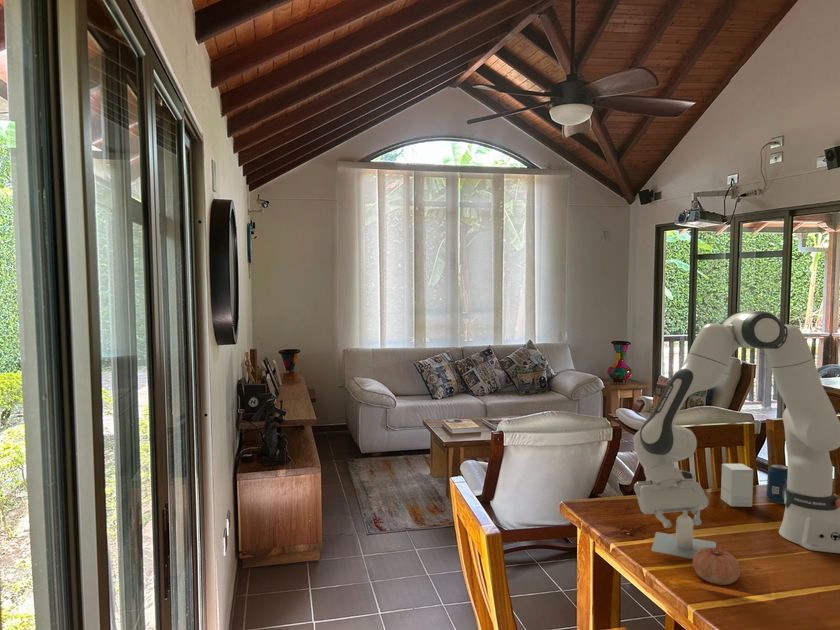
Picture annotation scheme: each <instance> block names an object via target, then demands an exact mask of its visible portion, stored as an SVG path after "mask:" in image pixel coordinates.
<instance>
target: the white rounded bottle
mask: <svg viewBox="0 0 840 630" xmlns="http://www.w3.org/2000/svg"><path fill="white" fill-rule="evenodd" d="M688 512H689V511H682V514H680V515H678V516H677V518H676V520H675V521H676V522H675V535H676V547H678V548H680V549H683V550H691V549H693V538H694V524H693V520H692V519H693V518H692V517H691V516H689V515H688Z"/></svg>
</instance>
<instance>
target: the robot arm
mask: <svg viewBox="0 0 840 630" xmlns="http://www.w3.org/2000/svg"><path fill="white" fill-rule="evenodd" d="M697 333H698V334H697V335H696V336H695V339H694V341H693V342H692V345H691V346H690V349H689V351H688V354H687V356H686V359H685V360H684V362H683V364H682V365H681V367H680V368H679V369H678V370H677V371H675V373H674V374H673V375H672V377H671V378H670V380H669V381H668V382H667V383H668V384H667V385H666V387H665V389H664V391H663V393H662V395H661V396H660V398H659V400H658V402H657V404H656V406H655V408H654V409H653V412H652V413H651V415H650V416H649V417H648V418H647V419H645V422H643V424H642V425H641V427H640V429H639V430H638V431H637V432H636V433H635V434H634V436H633V448H634V450H635V453H636V456H637V459H638V461H639V463H640V465H641V466H642V468H643V473H644V476H645V479H646V480H645V481H636V483H635V484H633V490H634V493H635V495H636V498H637V503H638V505H639V508H640V511H641V512H642V513H643V514H644V515H652V514H653V515H654V516H655V518H656V519H657V520H658V521H659V522H660V523H662V526H663V527H664V529H669V528H671V527H672V522H671V519H667V518H666V517H665V515H663V514H667V513H678V512H683V511H688V512H689V511H690V512H691V513H692V515H693V516H694V517H693V518H691V519H692V520H693V526H700V525H702V524H703V523H702V520H701V517H700V516H701V511H702V510H703V511H704V509H705V508H707V507H708V505H709V499H708V497H707V494H706V492H705V491H704V489H703V487H702V486H701V484H700V483H699V482H697V481H696V479H697V476H696V475H695V473H694V472H691V471H688V470H687V471H686V470H683V469H680V468H676V466H675V463H677V462H681V461H684V460H686V459H689V458H690V457H693V455H695V452H696V451H697V448H698V440H697V436H696V434H695V432H694V431H693V430H691V429H689V428H688V427H684V426H682V425H678V424H675V420H676V419H677V417H678V415H679V413H680V411H681V410H682V407H683V405H684V403H685V401H686V400H687V399H688V398H689V397H690V396H691V395H693V394H694V393H697V392H700V391H707V390H711V389H713V388H715V387H717V386H719V384H720V383H721V381H722V380H723V378H724V376H725V374H726V371H727V369H728V366H729V363H730V361H731V358H732V356H733V354H734V353H735V352H736V351H737V350H738V349H739V348H743V349H747V350H748V349H750V350H753V349H758V350H759V349H760V350H763V351H764V353H765V354H766V356H767V358H768V360H767V361H768V362H769V363H768V364H769V365H770V370H771V372H772V376H773V379H774V382H775V385H776V388H777V390H778V394H779V395H780V397H781V399H782V401H783V403H784V405H785V407H786V408H785V409H784V411H783V412H782V423H783V426H784V428H783V429H784V438H785V447H786V453H787V466H788V477H787V486H786V487H785V495H784V503H783V504H784V506H785V507H784V508H785V509H784V512H783V518H782V522H781V525H780V528H779V530H778V533H779V535H780V536H781V537H782V538H784V540H788V541H789V542H792V543H794V544H797V545H799V546H801V547H803V548H804V549H806V550H810V551H816V552H822V553H823V552H824V553H835V554H840V497H839V496H838V495H837V494H836V493H833V477H834V467H833V464H832V460H831V457H830V452H831V451H835V450H837V449H839V448H840V420H839V417H838V415H837V413H836V411H835V408H834V406H833V403H832V402H831V399H830V398H829V395H828V394H827V392H826V390H825V388H824V386H823V384H822V381H821V377H820V375H819V371H818V368H817V366H816V363H815V359H814V356H813V353H812V351H811V347H810V346H809V343H808V342H807V339H806V338H805V336H804V334H803V332H802V331H801V330H800V328H799V327H797V326H795V325H792V324H786V323H785V324H784V323H783V322H782V321H781V320H780V319H779V318H778V317H777V316H776V315H774V314H772V313H770V312H768V311H764V310H745V311H739V312H738V311H737V312H734V313H731V314H729V315H727V316H726V317H725V318H724V319H723V320H722V321H721V322H720V323H717V322H716V323H715V322H710V323H706V324H705V325H703V326H702V327H701V328H700V330H699V332H697Z"/></svg>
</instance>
